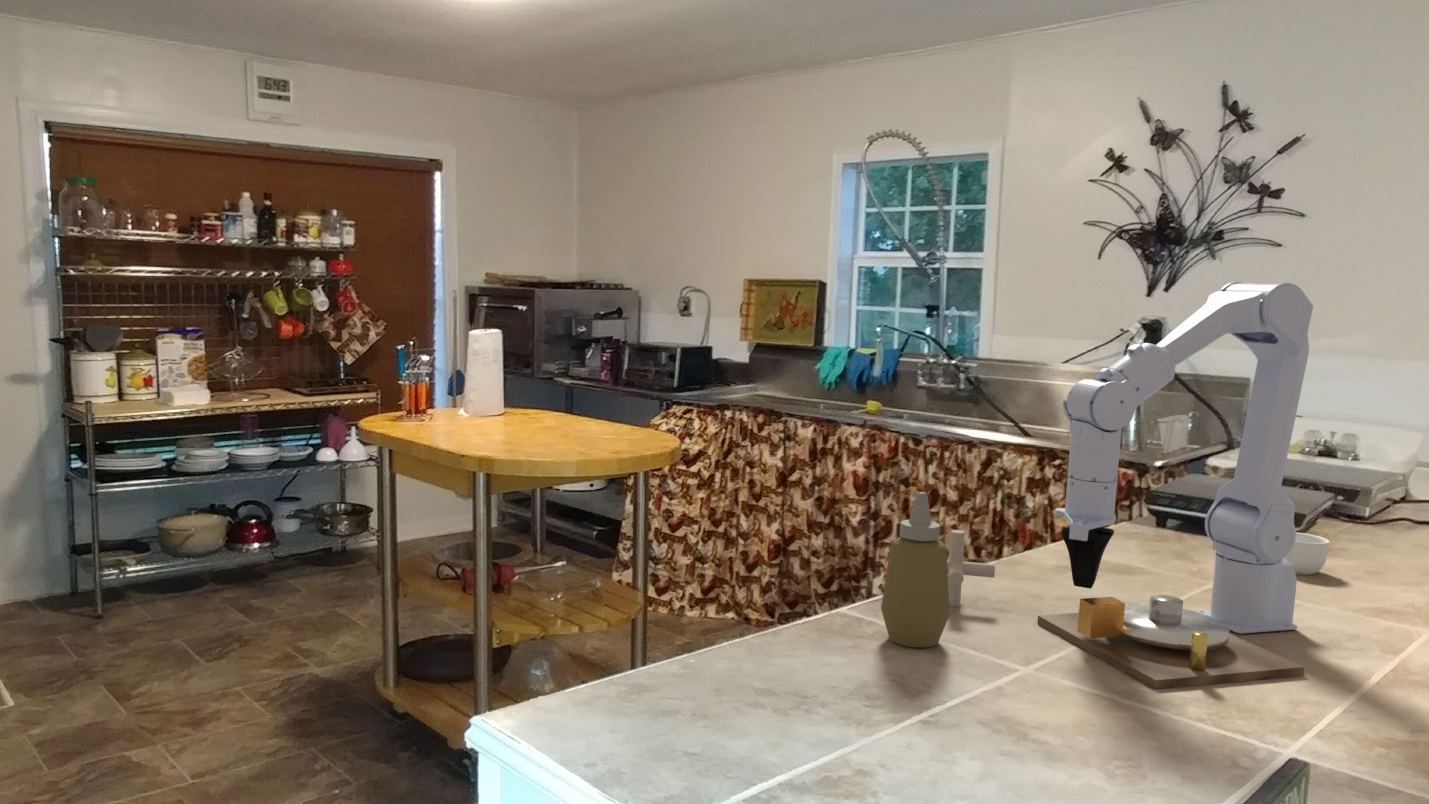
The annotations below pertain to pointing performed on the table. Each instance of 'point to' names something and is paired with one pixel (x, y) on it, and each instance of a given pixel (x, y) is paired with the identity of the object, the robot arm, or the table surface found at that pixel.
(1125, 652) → the flat brown board
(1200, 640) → the dowel
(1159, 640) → the disc with block handle
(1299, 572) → the teacup
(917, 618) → the squeeze bottle
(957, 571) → the pipe connector
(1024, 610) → the table surface
